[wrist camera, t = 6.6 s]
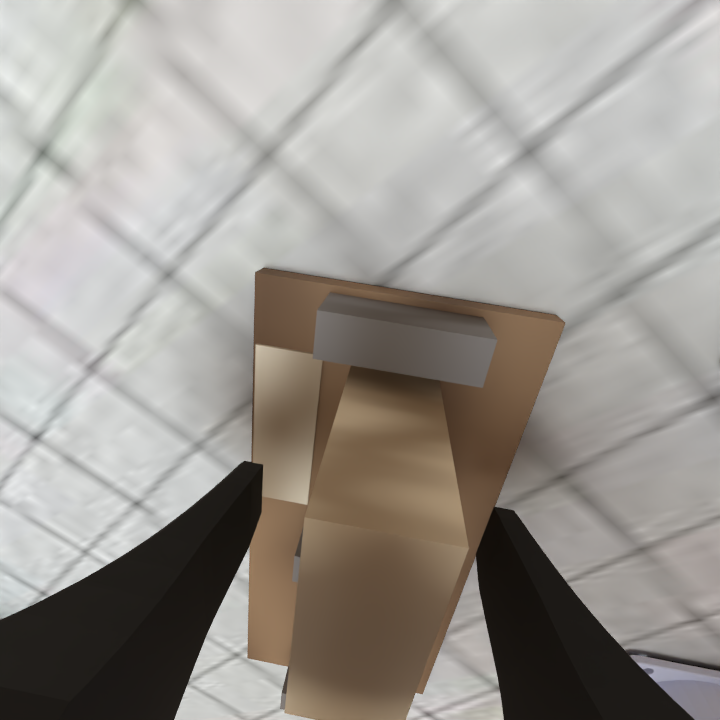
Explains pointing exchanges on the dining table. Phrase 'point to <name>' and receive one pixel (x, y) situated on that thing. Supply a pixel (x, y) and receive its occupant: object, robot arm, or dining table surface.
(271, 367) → the brown board with blocks
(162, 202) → the dining table surface
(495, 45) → the dining table surface
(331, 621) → the tall tan box
